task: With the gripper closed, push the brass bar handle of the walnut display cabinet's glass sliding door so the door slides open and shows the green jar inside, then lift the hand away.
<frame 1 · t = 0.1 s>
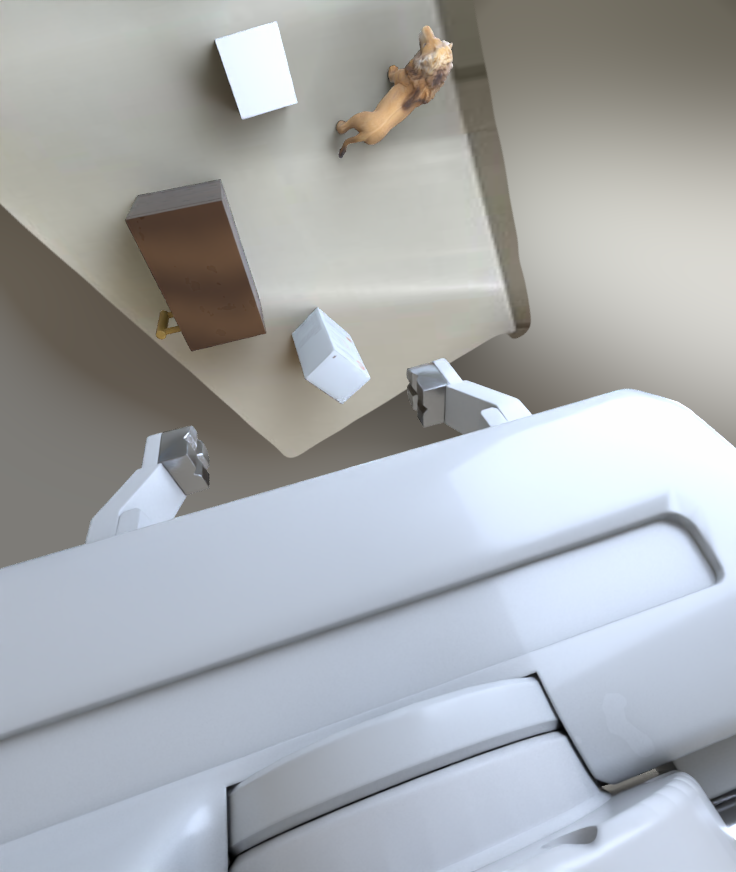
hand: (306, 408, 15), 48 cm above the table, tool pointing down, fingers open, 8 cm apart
small box: (321, 333, 67), on the table
glass door: (167, 303, 52), point 5 cm above the table, slide at 0.0 cm
cabinet: (205, 254, 54), on the table
lion figurine: (379, 96, 48), on the table
adhesive note: (254, 70, 43), on the table
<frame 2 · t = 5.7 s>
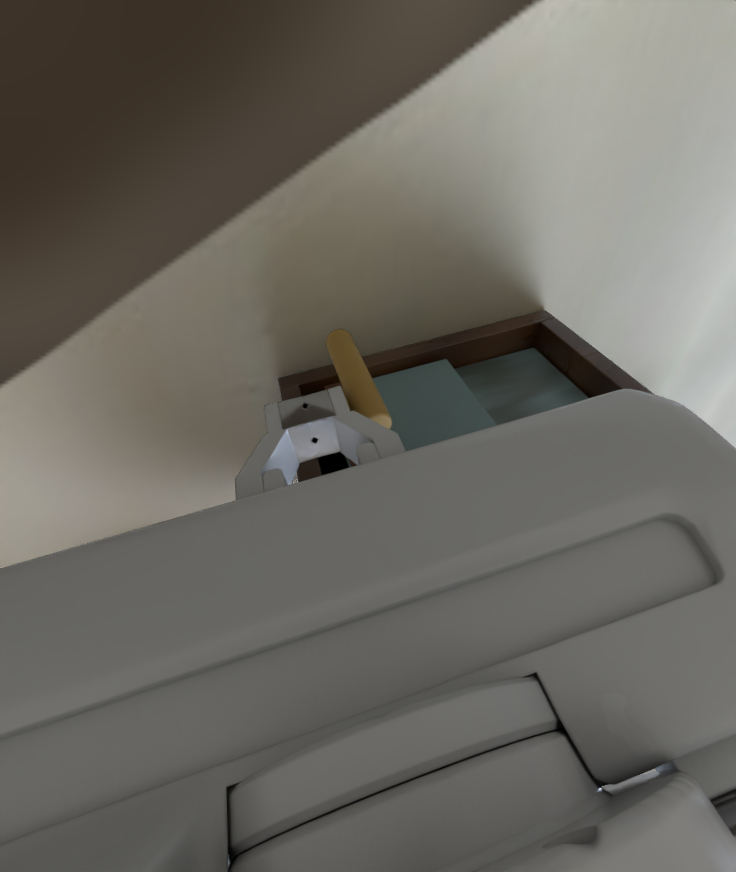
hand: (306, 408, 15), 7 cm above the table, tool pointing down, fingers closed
glass door: (408, 387, 18), point 5 cm above the table, slide at 0.9 cm, touching gripper
cabinet: (418, 408, 26), on the table
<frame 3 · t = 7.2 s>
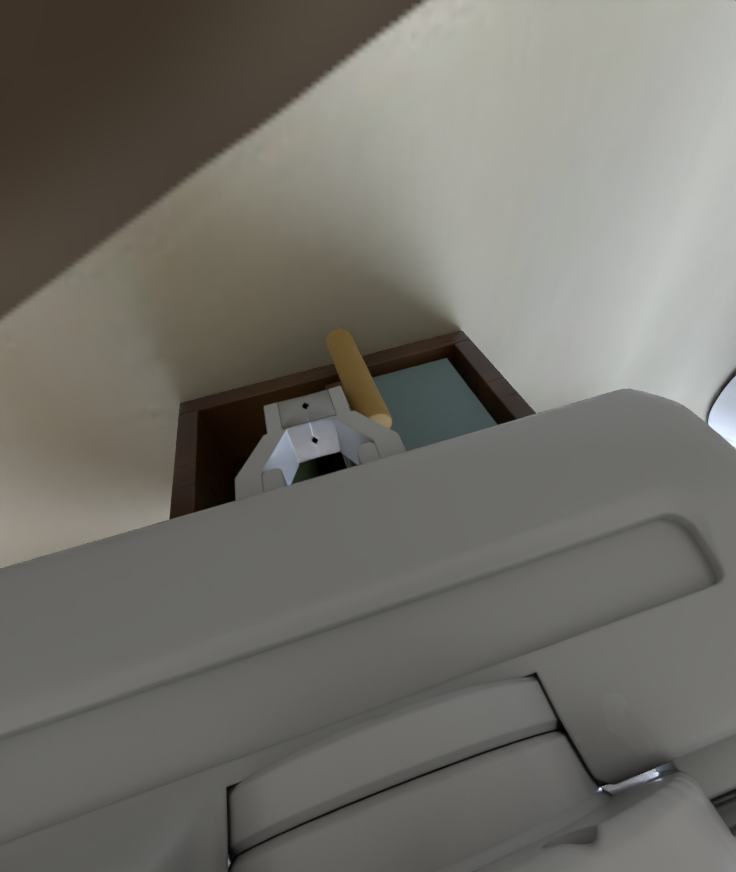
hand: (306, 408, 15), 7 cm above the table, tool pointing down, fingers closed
glass door: (408, 386, 18), point 5 cm above the table, slide at 6.2 cm, touching gripper
green jar: (289, 467, 25), resting on cabinet
cabinet: (341, 429, 25), on the table
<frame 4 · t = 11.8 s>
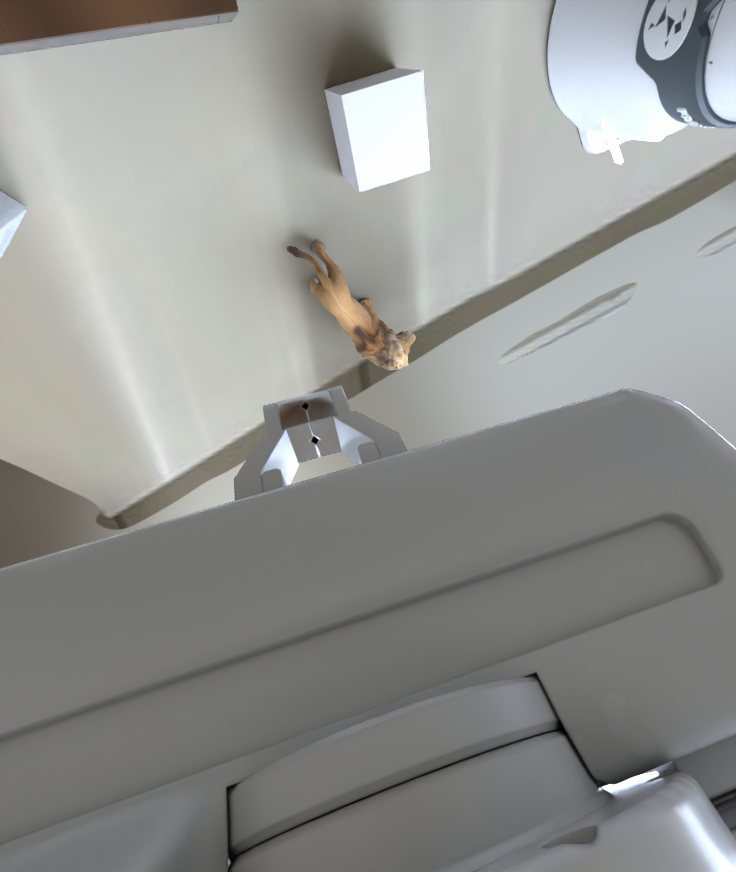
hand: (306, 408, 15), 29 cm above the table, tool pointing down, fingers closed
lion figurine: (345, 292, 43), on the table
adhesive note: (366, 124, 34), on the table
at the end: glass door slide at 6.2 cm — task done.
